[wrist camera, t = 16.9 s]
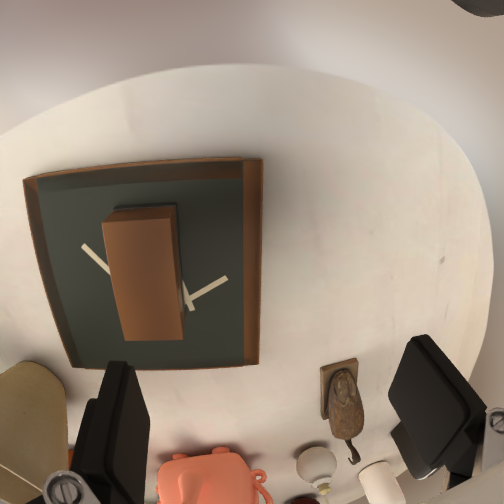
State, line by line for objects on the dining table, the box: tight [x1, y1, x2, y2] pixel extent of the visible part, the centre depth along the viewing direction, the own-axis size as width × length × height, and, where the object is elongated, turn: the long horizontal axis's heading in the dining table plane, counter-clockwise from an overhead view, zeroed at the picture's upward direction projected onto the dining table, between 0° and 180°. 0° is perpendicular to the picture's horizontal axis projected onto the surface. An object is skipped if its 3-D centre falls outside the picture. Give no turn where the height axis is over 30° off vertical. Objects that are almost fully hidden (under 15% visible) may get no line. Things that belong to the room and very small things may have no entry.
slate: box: [23, 157, 263, 370], centre depth 27 cm, size 20×20×1 cm
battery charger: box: [391, 422, 445, 480], centre depth 38 cm, size 7×4×11 cm, turn 154°
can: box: [359, 461, 406, 504], centre depth 44 cm, size 6×6×12 cm
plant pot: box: [0, 361, 68, 504], centre depth 23 cm, size 15×15×16 cm
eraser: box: [102, 202, 186, 341], centre depth 24 cm, size 5×10×4 cm, turn 0°
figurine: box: [321, 358, 364, 465], centre depth 33 cm, size 14×4×9 cm, turn 9°
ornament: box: [296, 447, 337, 503], centre depth 37 cm, size 6×7×10 cm
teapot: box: [156, 447, 273, 504], centre depth 34 cm, size 15×17×13 cm
